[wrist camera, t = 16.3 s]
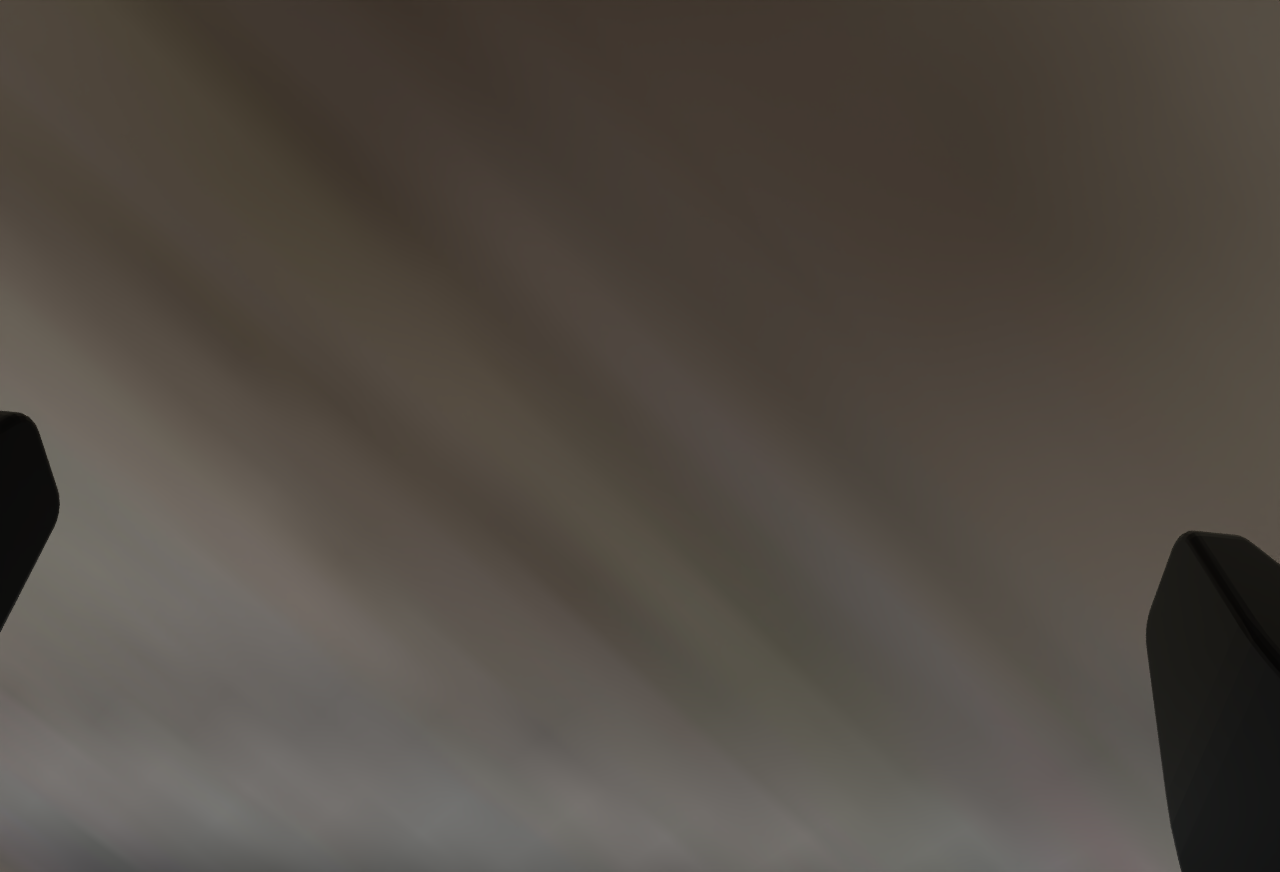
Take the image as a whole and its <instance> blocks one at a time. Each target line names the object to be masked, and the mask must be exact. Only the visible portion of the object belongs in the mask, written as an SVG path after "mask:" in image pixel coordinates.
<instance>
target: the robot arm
mask: <svg viewBox="0 0 1280 872" xmlns="http://www.w3.org/2000/svg"><path fill="white" fill-rule="evenodd" d="M59 506H60V502H59V493H58V489H57V486H56V483H55V480H54V477H53V474H52V471H51V468H50V464H49V461H48V458H47V455H46V452H45V449H44V446H43V443H42V440H41V437H40V434H39V431H38V429H37V426H36V425H35V423H34V422H33V421H32V420H31V419H30V418H29V417H28V416H26V415H24V414H22V413H18V412H9V411H0V632H1V630H2V628H3V626H4V624H5V622H6V620H7V618H8V616H9V614H10V612H11V610H12V609H13V607H14V605H15V603H16V601H17V599H18V597H19V595H20V593H21V591H22V589H23V587H24V585H25V583H26V581H27V579H28V577H29V575H30V573H31V571H32V569H33V567H34V566H35V564H36V562H37V560H38V558H39V556H40V554H41V552H42V550H43V548H44V546H45V544H46V542H47V540H48V538H49V536H50V534H51V532H52V530H53V528H54V526H55V524H56V521H57V518H58V514H59ZM1146 646H1147V654H1148V662H1149V669H1150V677H1151V685H1152V692H1153V700H1154V708H1155V715H1156V723H1157V731H1158V738H1159V746H1160V754H1161V761H1162V769H1163V777H1164V784H1165V792H1166V799H1167V805H1168V812H1169V818H1170V824H1171V829H1172V834H1173V838H1174V843H1175V847H1176V851H1177V856H1178V860H1179V864H1180V868H1181V872H1280V564H1279V563H1277V562H1276V561H1275V560H1274V559H1272V558H1271V557H1270V556H1268V555H1267V554H1266V553H1265V552H1263V551H1262V550H1261V549H1259V548H1258V547H1257V546H1255V545H1254V544H1253V543H1252V542H1250V541H1249V540H1247V539H1246V538H1244V537H1241V536H1238V535H1231V534H1221V533H1211V532H1201V531H1188V532H1186V533H1184V534H1182V535H1181V536H1180V537H1179V538H1178V540H1177V541H1176V542H1175V544H1174V546H1173V548H1172V551H1171V554H1170V557H1169V559H1168V562H1167V565H1166V568H1165V570H1164V573H1163V576H1162V578H1161V581H1160V584H1159V587H1158V589H1157V592H1156V595H1155V598H1154V600H1153V603H1152V606H1151V609H1150V612H1149V615H1148V620H1147V628H1146Z"/></svg>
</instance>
